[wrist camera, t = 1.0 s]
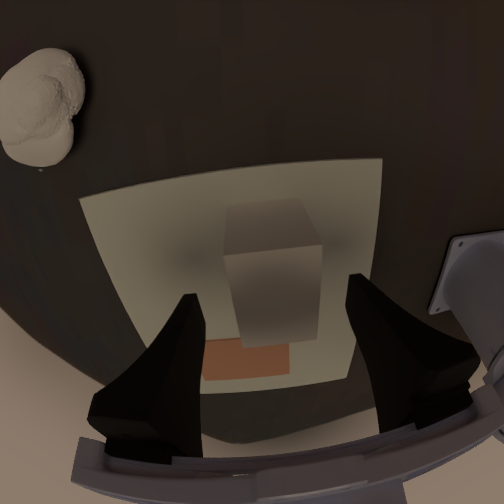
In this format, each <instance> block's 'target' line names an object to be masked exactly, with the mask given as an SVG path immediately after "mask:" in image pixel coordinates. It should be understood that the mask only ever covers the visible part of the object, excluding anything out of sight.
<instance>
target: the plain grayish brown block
mask: <svg viewBox="0 0 504 504" xmlns="http://www.w3.org/2000/svg"><path fill="white" fill-rule="evenodd" d="M223 257H224V262H225V267H226V272H227V277H228V282H229V287H230V292H231V296H232V301H233V306H234V311H235V315H236V320H237V324H238V329H239V333H240V338H241V342H242V347H243V348H251V347H261V346H270V345H279V344H287V343H295V342H302V341H309V340H316V339H317V333H318V320H319V306H320V290H321V270H322V243H321V240H320V238H319V236H318V234H317V232H316V230H315V228H314V226H313V224H312V221H311V219H310V217H309V215H308V213H307V211H306V209H305V207H304V205H303V203H302V201H301V199H300V197H297V198H287V199H277V200H268V201H259V202H250V203H241V204H233V205H227V216H226V228H225V240H224V252H223Z"/></svg>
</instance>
